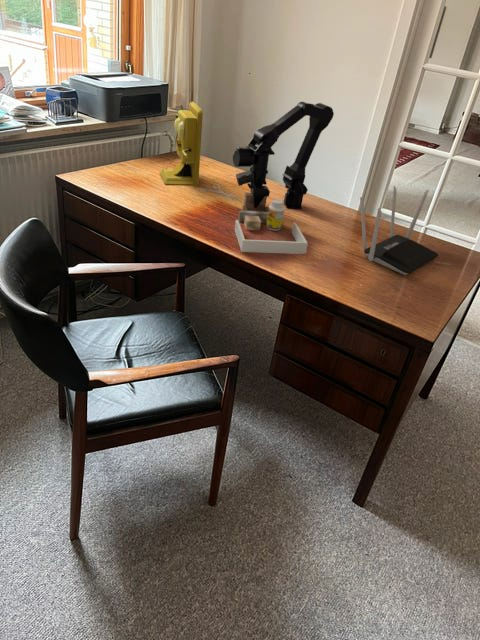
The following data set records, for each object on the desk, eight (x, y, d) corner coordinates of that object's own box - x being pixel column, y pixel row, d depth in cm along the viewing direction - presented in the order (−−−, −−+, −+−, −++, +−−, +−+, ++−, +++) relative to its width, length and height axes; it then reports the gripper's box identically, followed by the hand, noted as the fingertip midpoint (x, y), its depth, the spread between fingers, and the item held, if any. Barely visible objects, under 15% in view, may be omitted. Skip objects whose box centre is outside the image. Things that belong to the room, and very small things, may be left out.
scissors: (213, 183, 206) (248, 197, 196) (213, 185, 206) (248, 199, 196) (196, 188, 199) (232, 202, 189) (196, 190, 199) (231, 204, 189)
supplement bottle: (263, 225, 174) (267, 198, 169) (277, 224, 176) (282, 198, 170) (268, 231, 170) (273, 204, 164) (283, 231, 172) (287, 204, 166)
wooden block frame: (273, 207, 190) (275, 194, 187) (281, 223, 178) (283, 209, 174) (233, 205, 187) (235, 191, 184) (239, 221, 175) (240, 206, 172)
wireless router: (398, 283, 148) (418, 223, 137) (337, 255, 160) (351, 197, 149) (443, 256, 169) (464, 202, 158) (386, 232, 182) (402, 181, 170)
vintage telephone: (155, 166, 217) (156, 95, 201) (185, 167, 222) (188, 97, 205) (167, 190, 193) (169, 112, 176) (201, 190, 197) (206, 114, 181)
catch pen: (293, 232, 172) (295, 222, 169) (305, 254, 158) (307, 243, 156) (234, 230, 168) (235, 219, 165) (241, 251, 154) (242, 240, 152)
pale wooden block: (257, 225, 174) (258, 216, 172) (259, 230, 170) (261, 221, 168) (244, 224, 173) (245, 215, 171) (246, 230, 169) (247, 221, 167)
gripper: (235, 157, 184) (231, 196, 193) (242, 172, 169) (237, 214, 178) (263, 159, 186) (258, 197, 195) (272, 174, 171) (266, 215, 180)
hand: (254, 205), depth 187 cm, fingers closed on wooden block frame, 3 cm apart
